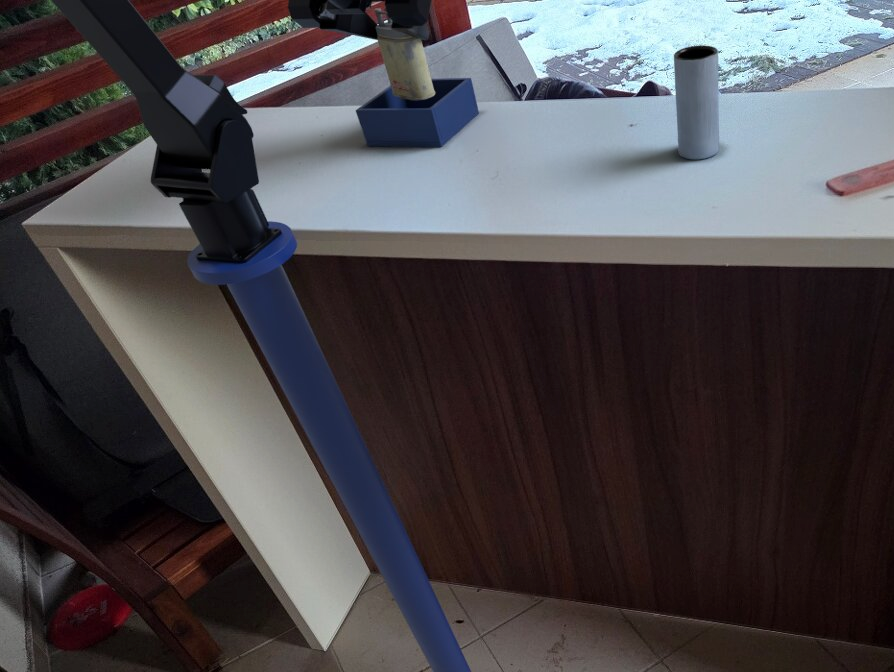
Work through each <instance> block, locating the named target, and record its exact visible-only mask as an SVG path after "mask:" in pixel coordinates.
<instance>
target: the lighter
mask: <svg viewBox="0 0 894 672" xmlns="http://www.w3.org/2000/svg"><path fill="white" fill-rule="evenodd" d="M374 15H375V17H376V18H377V23H378V24H377V26H376V32H377V35H378V37H377V40H376V41H377V43H378V46H379V49H380V53H381V57H382V60H383V63H384V64H383V65H384V67H385V70H386V74H387V77H388V81H389V84H390V86H391V88H392V91H393V95H394V96H397V97H400V99H409V100H414V101H416V100H424V99H427V98H430V97H432V96H434V95H435V91H434V88H433V84H432V80H431V79H432V76H431V72H430V68H429V65H428V61H427V57H426V53H425V49H424V45H423V40H422V39H419V38H416V37H414V36H411V35H408V34H405V33H403V32H400V31H397V30H394V29H392V28H391V25H392V20H391V19H390V18H389V17H388V14H387V10H386V7H385V6H384V8H383V10H382V8H380V7H378V8H377V7H376V8H375V9H374ZM383 15H385V16H386V20H387V21H386V22H385V20H384V18H383Z"/></svg>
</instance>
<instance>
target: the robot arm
mask: <svg viewBox="0 0 894 672" xmlns="http://www.w3.org/2000/svg"><path fill="white" fill-rule="evenodd" d="M50 1H51V2H52V3H53V5H55V7H56V8H57V9H58V10H59V11H60V12H61V14H62V15H63V16H64V17H65V18H66V20H68V22H70V24H71V25H72V26H73V27H74V28H75V30H77V32H78V33H79V34H80V35H81V36H82V37H83V38H84V39H85V41H86V42H87V43H88V44H89V45H90V46H91V48H92V49H93V50H94V51H95V52H96V53H97V54H98V55H99V57H101V59H102V60H103V61H104V62H105V63H106V65H108V67H109V68H110V69H111V70H112V71H113V72H114V73H115V74H116V76H117V77H118V78H119V79H120V80H121V81H122V83H124V85H125V86H126V87H127V88H128V89H129V91H130V92H131V93H132V94H133V96H134V97H135V100H136V103H137V107H138V110H139V113H140V117H141V121H142V124H143V126H144V128H145V129H146V131H147V132H148V134H149V135H150V137H151V138H152V140H153V141H154V143H155V144H156V148H155V154H154V157H153V158H154V160H153V164H152V169H151V175H150V184H151V185H152V186H153V187H154V188H155V189H156V190H157V191H158V192H159V193H160V194H161V195H162V196H163V197H165V198H178V199H182V200H181V201H180V202H179V203H178V205H179V207H180V209H181V211H182V213H183V215H184V216H185V218H186V220H187V222H188V224H189V226H190V228H191V229H192V231H193V233H194V235H195V237H196V239H197V241H198V243H199V244H200V245H201V246H202V248H203V250H201V251H200V252H199V253H197V254H196V255H195V257H196V258H197V260H201V261H214V262H227V263H241V264H242V263H246V262H248V261H249V260H250V259H251V258H253V257H254V256H255V255H256V254H258V253H259V252H260V251H261V250H263V249H264V248H265V247H266V246H268V245H269V244H270V243H271V242H272V241H274V240H275V239H276V238H277V237H279V236H280V235H281V234H282V232H281V229H279V228H268V226H269V223H268V219H267V216H266V215H265V212H264V210H263V208H262V206H261V204H260V201H259V199H258V197H257V195H256V193H255V190H254V189H252V188H254V187H256V186H257V185H259V183H260V179H259V174H258V173H259V172H258V167H257V160H256V153H255V148H254V141H253V138H254V136H255V134H254V131H253V128H252V126H251V125H250V123H249V121H248V120H247V117H245V116H244V115H247V114H248V110H247V109H246V108H245V107H243V106H241V105H240V104H239V103H238V102H237V100H236V99H235V98H234V96H233V95H232V94H231V91H230V90H229V88H228V87H227V85H226V83H225V82H224V81H223V80H222V78H221V77H219V76H218V75H217V74H193V73H190V72H189V71H187V69H185V68H184V67H183V66H182V65H181V64H180V63H179V61H178V60H177V59H176V58H175V57H174V56H173V54H172V53H171V52H170V50H169V49H168V48H167V47H166V45H165V44H164V42H163V41H162V40H161V39H160V38H159V36H158V35H157V34H156V32H155V31H154V30H153V29H152V28H151V26H150V25H149V24H148V22H147V21H146V20H145V19H144V18H143V16H142V15H141V13H139V11H138V10H137V8H136V7H135V6H134V5H133V4H132V2H131V1H130V0H50ZM378 2H384V8H385V7H386V10H387V14H388V17H389V18H390V19H391V20H392V25H391V28H392V29H394V30H397V31H400V32H403V33H405V34H408V35H411V36H414V37H416V38H419V39H421V40H422V41H428V40H429V37H430V30H429V28H428V25H427V22H428V21H429V16H430V10H431V7H432V6H431V5H432V2H433V1H432V0H288V3H287V9H288V13H289V15H290V19H291V20H292V21H294V22H295V23H296V24H298V25H299V27H301V28H302V29H319V30H321V31H328V32H333V33H339V34H345V35H350V36H355V37H360V38H364V39H368V40H369V39H370V40H375V41H378V40H377V37H378V35H377V32H376V26H377V25H378V24H377V23H378V22H376V21H375V19H373V18H372V16H370V15H369V13H367V12H366V11H367V10H370V9H371V8H372V4H373V3H378ZM203 170H209V171H210V172H203Z"/></svg>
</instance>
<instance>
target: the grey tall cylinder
mask: <svg viewBox="0 0 894 672" xmlns="http://www.w3.org/2000/svg"><path fill="white" fill-rule="evenodd" d="M673 68H674V70H673V71H674V87H675V88H674V90H675V108H676V109H675V110H676V111H675V112H676V127H677V130H676V131H677V148H678V149H677V150H678V154H679V156H680V157H681V158H684V159H687V160H704V159H708V158H711V157H714V156H715V155H716V154H718V153H719V151H720V98H719V97H720V95H719V93H720V92H719V88H720V87H719V50H718V49H717V48H716V47H715V46H711V45H692V46H687V47H683V48H680V49H678V50H677V51H676V52H674V54H673Z"/></svg>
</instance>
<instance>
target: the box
mask: <svg viewBox="0 0 894 672" xmlns="http://www.w3.org/2000/svg"><path fill="white" fill-rule="evenodd" d="M431 80H432V84H433V88H434V91H435V95H434V96H432V97H430V98H427V99H424V100H416V101H414V100H409V99H400V97H397V96H394V95H393V91H392V88H391V85H389V86H388V87H387V88H385V89H384V90H382V91H381V92H379V93H378V94H377V95H375V96H373V97H371V99H370V100H368V101H366V102H365V103H364V104H362V105H361V106H359V107H358V108H356V109H355V114H356V116H357V119H358V122H359V125H360V128H361V131H362V134H363V138H364V140H365V143H366V146H367V147H401V148H402V147H404V148H405V147H409V148H410V147H411V148H412V147H413V148H415V147H416V148H418V147H420V148H421V147H422V148H442V147H443V146H444V145H446V143H448V142H449V141H450V140H451V139H452V138H453V137H455V135H457V134H458V133H459V132H460V131H461V130H462V129H463V128H465V127H466V126H467V125H468V124H469V123H470V122H472V121H473V120H474V118H476V117H477V116H479V114H480V111H479V106H478V102H477V98H476V93H475V89H474V84H473V80H472V78H471V77H454V78H451V77H450V78H449V77H447V78H446V77H445V78H431Z"/></svg>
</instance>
